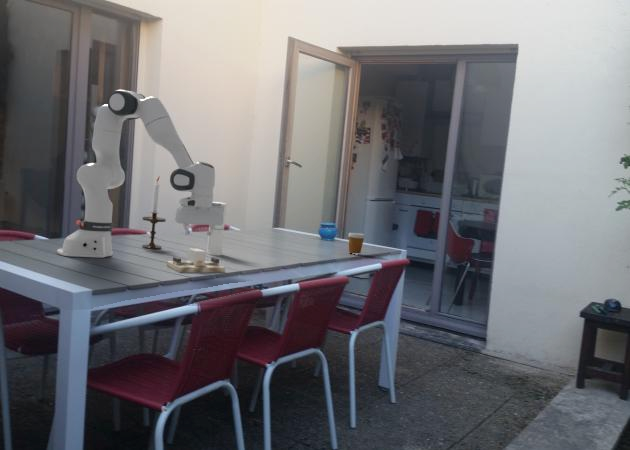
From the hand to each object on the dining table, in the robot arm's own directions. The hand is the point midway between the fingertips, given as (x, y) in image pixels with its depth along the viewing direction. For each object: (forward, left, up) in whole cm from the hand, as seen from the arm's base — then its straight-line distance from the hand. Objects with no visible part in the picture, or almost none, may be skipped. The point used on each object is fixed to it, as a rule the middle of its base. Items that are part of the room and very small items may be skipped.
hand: (198, 235), depth 271 cm
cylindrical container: (+26, +38, -14) cm, 48 cm away
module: (0, 0, -12) cm, 12 cm away
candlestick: (0, +53, -14) cm, 55 cm away
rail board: (0, 0, -14) cm, 14 cm away
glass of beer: (+116, +44, -14) cm, 125 cm away
